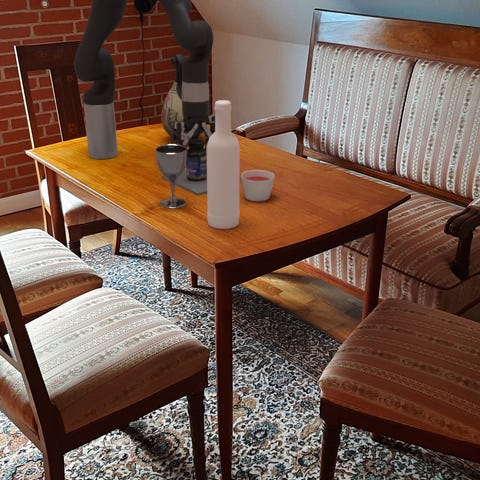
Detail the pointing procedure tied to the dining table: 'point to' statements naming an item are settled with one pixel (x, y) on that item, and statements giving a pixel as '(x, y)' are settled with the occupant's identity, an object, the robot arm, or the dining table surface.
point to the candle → (257, 184)
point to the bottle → (223, 171)
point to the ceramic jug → (174, 100)
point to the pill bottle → (196, 160)
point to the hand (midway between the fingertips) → (196, 154)
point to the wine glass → (172, 169)
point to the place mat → (191, 184)
